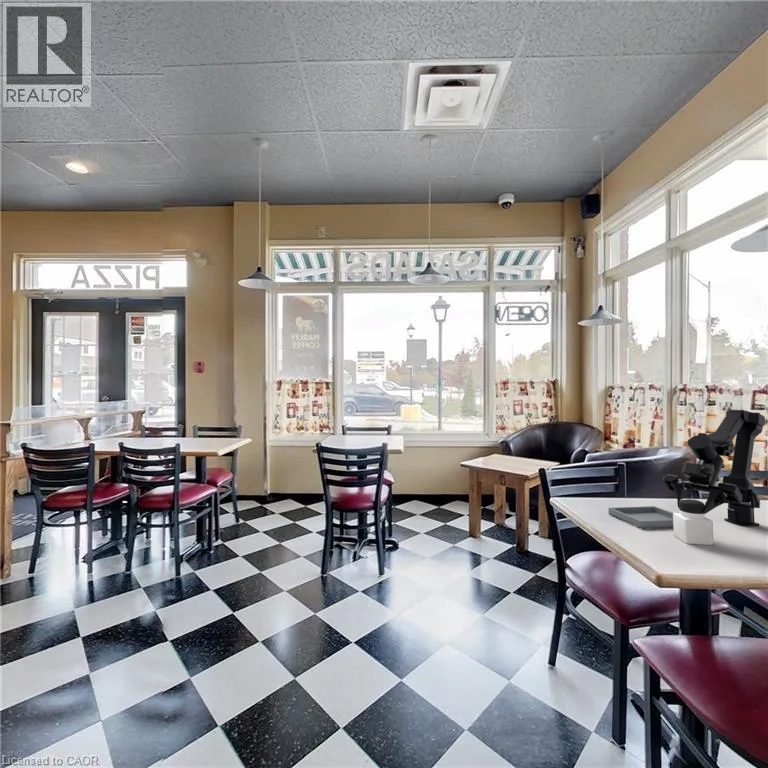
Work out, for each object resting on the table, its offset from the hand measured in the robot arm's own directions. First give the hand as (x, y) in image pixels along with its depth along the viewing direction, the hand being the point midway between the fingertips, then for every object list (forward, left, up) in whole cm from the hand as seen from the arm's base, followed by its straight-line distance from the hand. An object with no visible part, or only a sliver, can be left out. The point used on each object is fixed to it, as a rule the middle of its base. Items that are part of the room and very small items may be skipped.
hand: (691, 510), depth 116 cm
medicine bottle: (0, 0, -9) cm, 9 cm away
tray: (-1, -19, -9) cm, 21 cm away
